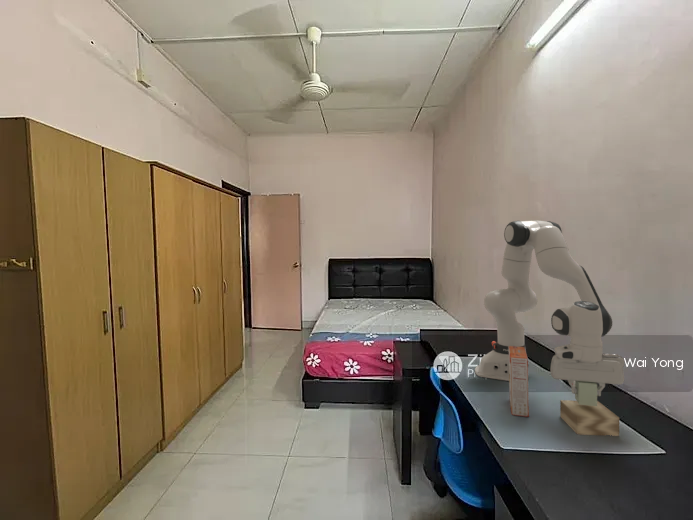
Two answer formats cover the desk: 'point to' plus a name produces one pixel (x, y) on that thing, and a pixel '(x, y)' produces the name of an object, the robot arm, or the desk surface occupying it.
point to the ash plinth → (589, 418)
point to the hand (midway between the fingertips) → (585, 394)
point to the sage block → (586, 393)
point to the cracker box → (518, 381)
